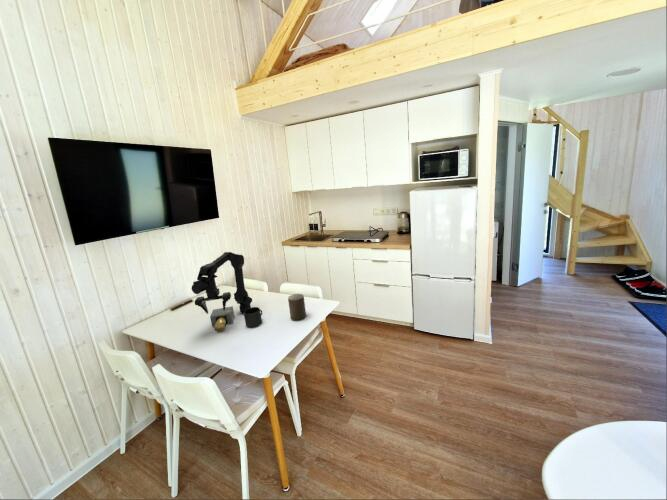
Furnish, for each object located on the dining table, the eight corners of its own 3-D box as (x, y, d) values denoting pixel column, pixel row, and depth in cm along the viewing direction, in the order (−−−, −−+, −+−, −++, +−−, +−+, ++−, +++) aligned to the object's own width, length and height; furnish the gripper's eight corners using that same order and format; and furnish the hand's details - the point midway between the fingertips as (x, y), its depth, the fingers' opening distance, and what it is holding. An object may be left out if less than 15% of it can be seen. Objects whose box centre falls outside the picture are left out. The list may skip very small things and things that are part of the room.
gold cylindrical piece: (219, 322, 171) (217, 313, 169) (228, 320, 172) (226, 312, 170) (215, 333, 158) (213, 324, 156) (225, 331, 159) (223, 322, 157)
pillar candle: (303, 321, 163) (300, 298, 159) (288, 320, 165) (285, 298, 161) (308, 313, 172) (305, 291, 168) (293, 313, 174) (290, 291, 170)
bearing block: (215, 320, 175) (213, 309, 173) (234, 316, 177) (232, 305, 175) (212, 327, 165) (209, 316, 163) (232, 323, 168) (230, 312, 166)
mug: (268, 320, 168) (266, 306, 166) (253, 329, 159) (250, 315, 156) (258, 317, 173) (256, 304, 171) (242, 326, 164) (240, 312, 162)
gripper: (229, 279, 164) (234, 303, 167) (196, 285, 160) (202, 309, 164) (227, 286, 153) (232, 311, 157) (191, 291, 149) (197, 317, 153)
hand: (216, 312), depth 158 cm, fingers open, 9 cm apart
